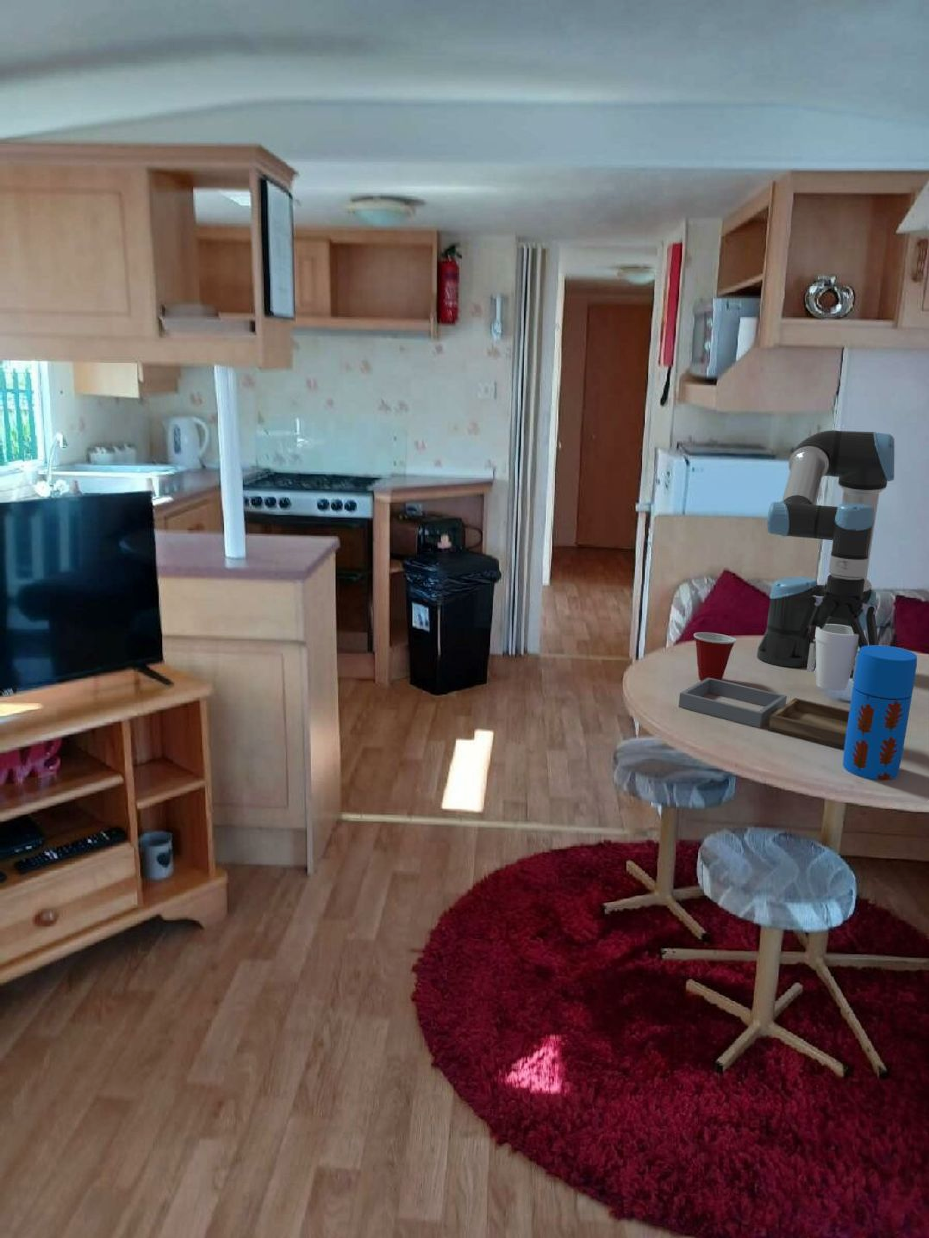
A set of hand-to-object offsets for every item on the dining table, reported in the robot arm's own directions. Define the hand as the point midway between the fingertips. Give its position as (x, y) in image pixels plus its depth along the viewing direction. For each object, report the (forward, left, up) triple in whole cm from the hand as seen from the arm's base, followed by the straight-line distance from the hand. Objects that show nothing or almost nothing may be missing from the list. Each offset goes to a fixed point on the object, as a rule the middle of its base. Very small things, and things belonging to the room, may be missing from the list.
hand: (832, 674), depth 210 cm
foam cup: (0, 0, -3) cm, 3 cm away
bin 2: (0, 0, -14) cm, 14 cm away
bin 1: (0, -22, -14) cm, 26 cm away
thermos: (+15, +14, -14) cm, 25 cm away
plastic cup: (-17, -35, -14) cm, 41 cm away
